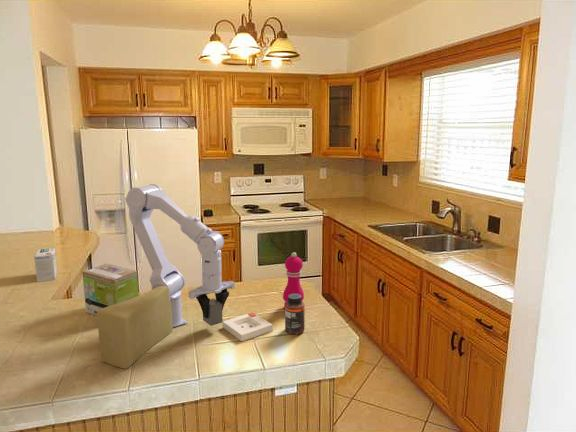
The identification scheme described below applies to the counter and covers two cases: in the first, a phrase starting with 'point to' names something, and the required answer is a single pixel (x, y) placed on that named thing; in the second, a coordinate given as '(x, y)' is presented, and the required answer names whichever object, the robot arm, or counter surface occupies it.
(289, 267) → the pepper mill
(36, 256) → the light bulb box
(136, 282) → the tea box
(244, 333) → the socket plate
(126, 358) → the tan rectangular block
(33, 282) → the counter surface
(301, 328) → the supplement bottle
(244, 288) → the counter surface
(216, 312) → the plug
